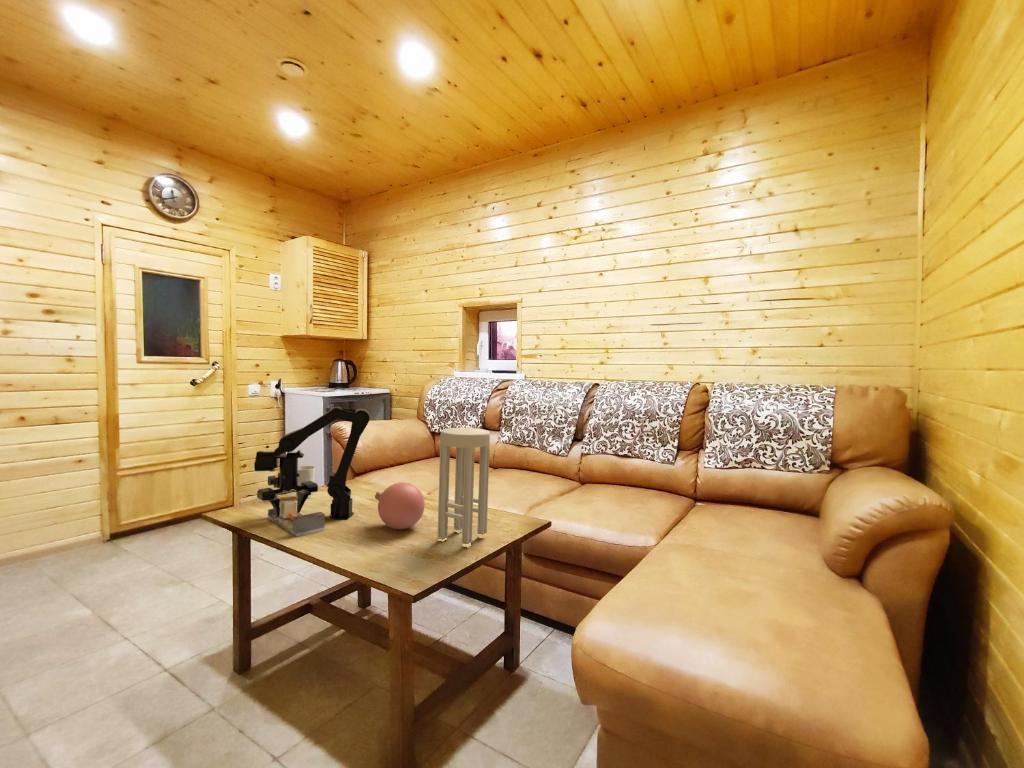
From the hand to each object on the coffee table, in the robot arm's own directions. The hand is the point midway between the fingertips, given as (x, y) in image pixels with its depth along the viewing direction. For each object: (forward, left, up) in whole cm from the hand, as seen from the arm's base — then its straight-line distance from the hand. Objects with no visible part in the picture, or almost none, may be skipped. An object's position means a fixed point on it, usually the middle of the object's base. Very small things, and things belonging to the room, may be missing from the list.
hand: (288, 514), depth 166 cm
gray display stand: (-5, +4, -2) cm, 6 cm away
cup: (+7, -26, -2) cm, 27 cm away
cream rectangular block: (-2, +2, 0) cm, 3 cm away
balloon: (-39, +1, -2) cm, 39 cm away
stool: (-63, +9, -2) cm, 63 cm away
